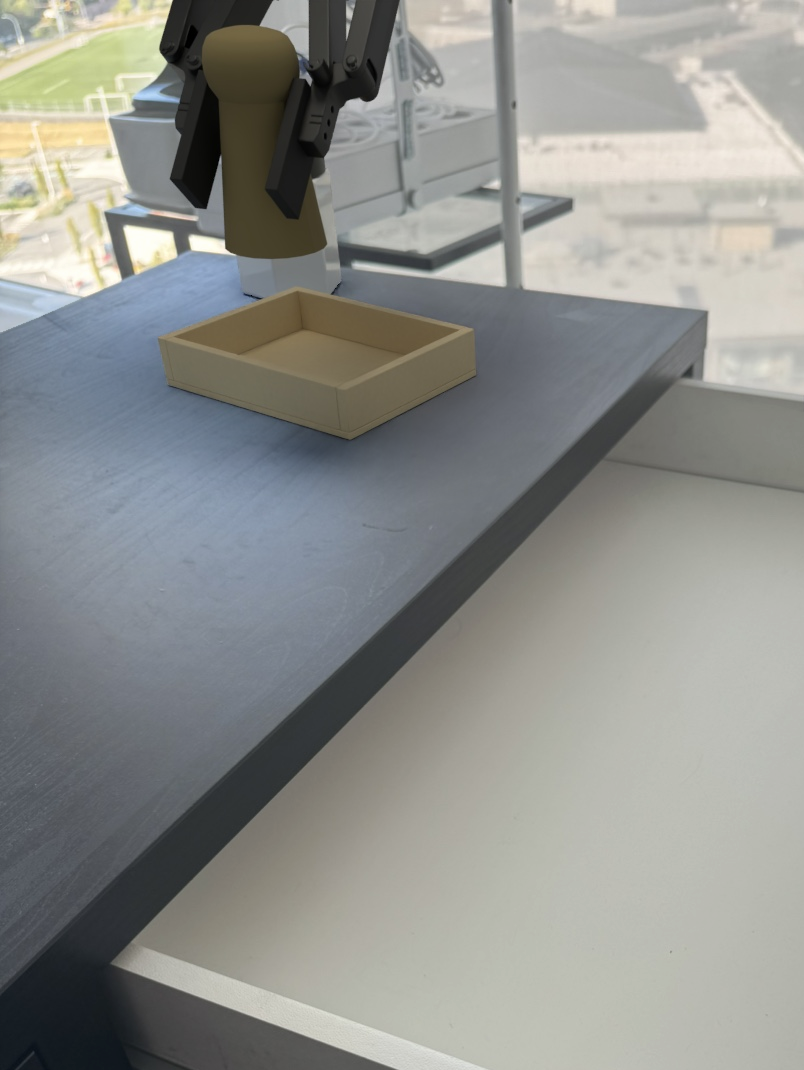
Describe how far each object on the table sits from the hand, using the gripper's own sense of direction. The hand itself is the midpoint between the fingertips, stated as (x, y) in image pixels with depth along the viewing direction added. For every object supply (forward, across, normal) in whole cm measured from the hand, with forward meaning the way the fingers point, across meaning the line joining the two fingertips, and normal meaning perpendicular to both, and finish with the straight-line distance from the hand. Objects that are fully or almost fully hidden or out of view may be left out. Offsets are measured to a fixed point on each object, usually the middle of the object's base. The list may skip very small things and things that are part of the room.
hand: (234, 198), depth 65 cm
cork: (0, 0, +5) cm, 5 cm away
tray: (+1, -4, +22) cm, 23 cm away
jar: (-12, -17, +36) cm, 41 cm away
